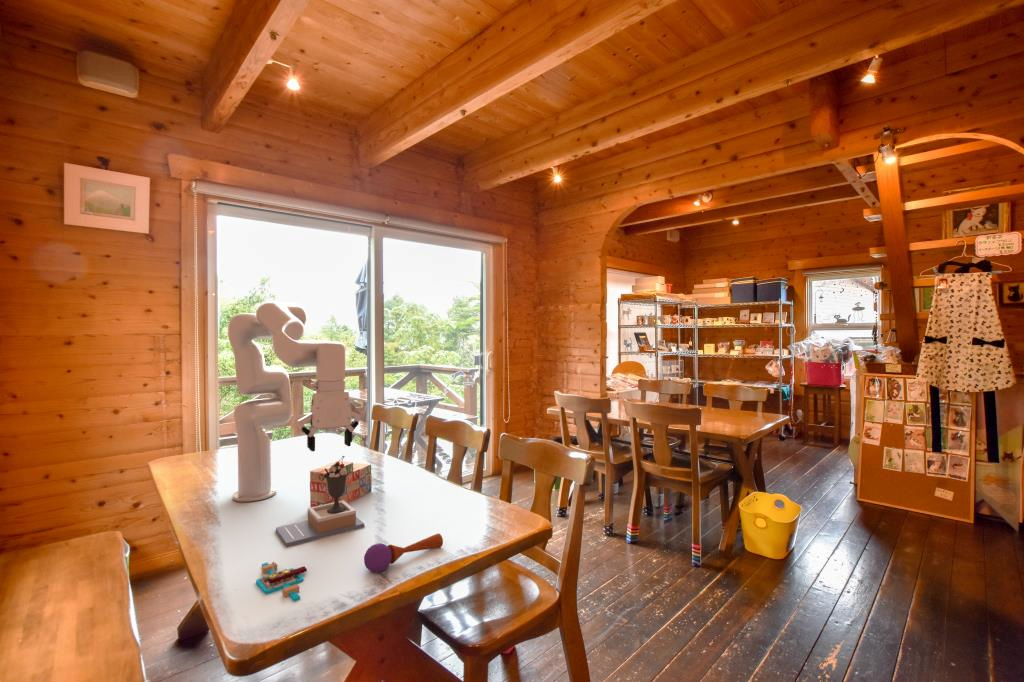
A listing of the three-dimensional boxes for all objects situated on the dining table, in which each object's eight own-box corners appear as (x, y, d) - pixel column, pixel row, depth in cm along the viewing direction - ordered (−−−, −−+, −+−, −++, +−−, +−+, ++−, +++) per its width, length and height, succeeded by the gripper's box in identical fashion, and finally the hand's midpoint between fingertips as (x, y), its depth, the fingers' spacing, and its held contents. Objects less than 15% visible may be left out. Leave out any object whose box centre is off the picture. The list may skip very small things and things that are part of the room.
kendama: (448, 534, 118) (374, 555, 104) (443, 557, 119) (370, 581, 104) (434, 523, 122) (361, 542, 108) (430, 545, 123) (357, 566, 108)
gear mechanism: (289, 560, 114) (245, 573, 107) (289, 537, 114) (246, 549, 107) (324, 593, 100) (276, 611, 93) (324, 567, 100) (276, 583, 93)
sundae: (354, 507, 136) (354, 455, 136) (337, 515, 129) (337, 460, 129) (335, 504, 138) (335, 453, 138) (318, 512, 132) (318, 458, 132)
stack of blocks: (357, 489, 164) (356, 453, 164) (372, 491, 162) (371, 455, 162) (309, 510, 144) (309, 470, 144) (326, 513, 142) (325, 472, 142)
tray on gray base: (275, 531, 129) (275, 513, 129) (349, 514, 141) (349, 497, 141) (286, 547, 120) (286, 528, 119) (364, 527, 132) (364, 509, 132)
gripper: (301, 390, 123) (300, 455, 124) (366, 386, 134) (365, 446, 135) (293, 386, 129) (293, 449, 130) (356, 383, 140) (356, 440, 141)
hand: (330, 447), depth 132 cm, fingers open, 9 cm apart
